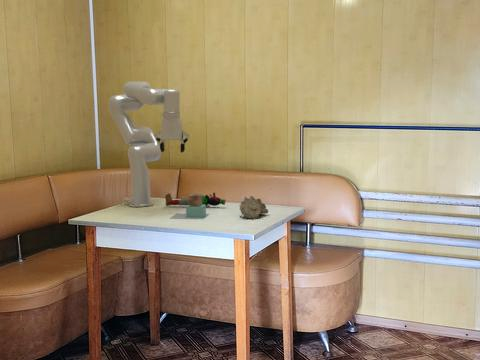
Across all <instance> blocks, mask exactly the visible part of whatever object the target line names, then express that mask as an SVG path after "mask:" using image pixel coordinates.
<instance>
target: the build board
mask: <svg viewBox="0 0 480 360" xmlns="http://www.w3.org/2000/svg"><path fill="white" fill-rule="evenodd" d="M208 216H210V213H206V216H205V217H203V218H199V217H186V213H176V214H174V215H172V216H171V217H170V218H169V220H170V219H171V220H204V219H206V218H207V217H208Z"/></svg>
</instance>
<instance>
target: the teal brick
mask: <svg viewBox="0 0 480 360" xmlns="http://www.w3.org/2000/svg"><path fill="white" fill-rule="evenodd" d="M185 209H186V212H185V214H186V217H199V218H203V217H205V216H206V214H207V207H206V205H201V206H200V207H189V205H185Z"/></svg>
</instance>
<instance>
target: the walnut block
mask: <svg viewBox="0 0 480 360" xmlns="http://www.w3.org/2000/svg"><path fill="white" fill-rule="evenodd" d="M187 196H188V197H187V199H188V198H189V207H200V206H201V205H202V196H203V194H202V193H190V194H189V195H187Z"/></svg>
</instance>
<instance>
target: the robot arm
mask: <svg viewBox="0 0 480 360" xmlns="http://www.w3.org/2000/svg"><path fill="white" fill-rule="evenodd" d="M122 92H123V93H124V94H117V95H116V94H114V95H113V96H111V97H110V98H109V100H108V103H107V105H108V106H107V108H108V112H109V114H110V117H111V118H112V120H113V122H115V125H116V126H117V128H118V130H119V133H120V135H121V137H122V139H123V141H124V143H125V144H126V145H128V146H129V147H128V149H127V157H128V162H129V168H130V186H131V189H130V190H131V196H130V197H129V196H125V197H124V201H125V202H129V203H128V206H129V207H133V208H144V207H145V208H146V207H152V206H154V204H155V203H154V201H152V200H151V183H150V179H151V178H150V177H151V176H150V170H149V167H148V166H147V164H146V163H149V162H156V161H158V160H160V159H161V156H162V153H164V152H165V143H164V142H165V141H179V142H180V143H181V144H180V154H181V153H184V152H185V150H186V149H185V148H186V147H185V145H186V143H187V142H188V141H189V139H190V137H191V134H190V133H188V132H186V131H184V128H183V127H184V126H183V120H182V118H181V112H180V111H181V104H180V99H181V96H180V91H179V89H175V88H174V89H173V88H171V89H170V88H152V86H151V84H150V83H149V82H148V81H128V82H126V83H125V84H124V85H123V88H122ZM144 105H148V106H149V105H150V106H154V105H155V106H156V105H158V106H159V105H163V112H161V113H160V117H163V118H161V125H160V131H158V132H156V133H154V132H153V130H152V129H151V128H150V127H148V126H146V125H145V126H143V125H141V126H138V125H136V124H135V122H134V119H133V118H132V117H131V116H130V115H129V114H128V113H126V112H133V111H134V112H135V111H139V110H141V109H142V108H143V106H144ZM159 136H160V137H159ZM184 136H185V138H184Z"/></svg>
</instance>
